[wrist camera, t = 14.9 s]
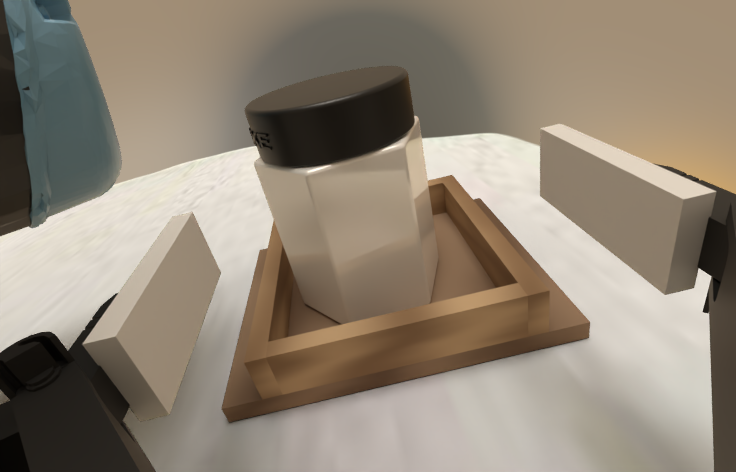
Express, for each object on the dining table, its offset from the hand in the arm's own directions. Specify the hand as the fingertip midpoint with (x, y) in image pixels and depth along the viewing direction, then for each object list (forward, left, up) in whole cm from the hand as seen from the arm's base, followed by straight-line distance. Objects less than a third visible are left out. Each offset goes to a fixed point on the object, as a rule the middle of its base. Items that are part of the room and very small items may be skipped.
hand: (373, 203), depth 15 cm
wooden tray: (0, +7, -10) cm, 12 cm away
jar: (-1, +7, -9) cm, 11 cm away
